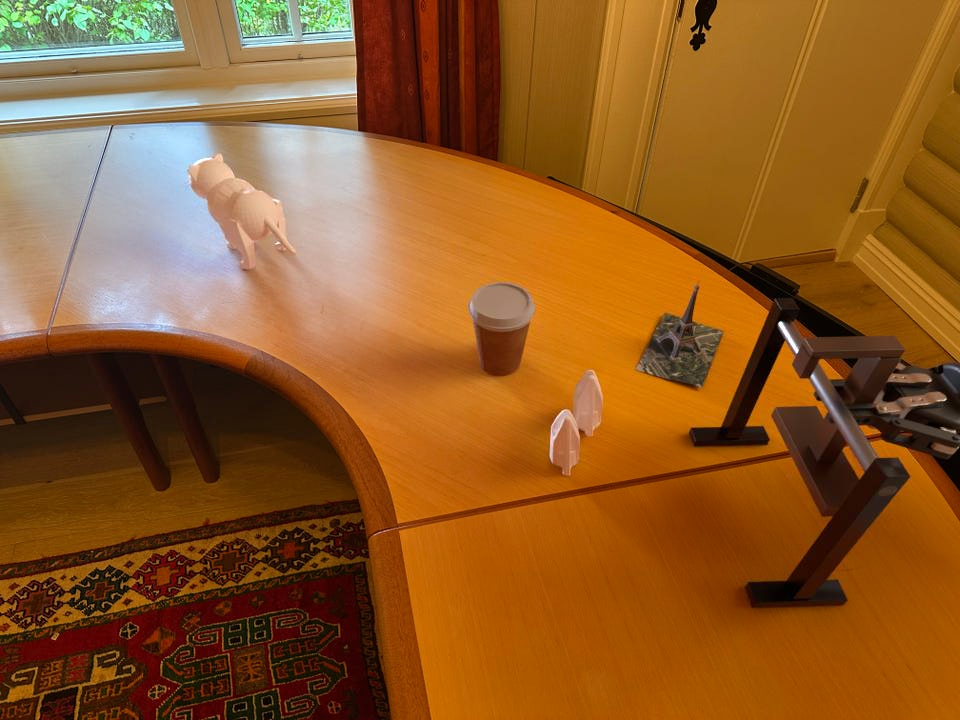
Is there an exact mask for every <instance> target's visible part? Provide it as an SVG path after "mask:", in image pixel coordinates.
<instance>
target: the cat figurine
mask: <svg viewBox="0 0 960 720" xmlns="http://www.w3.org/2000/svg"><path fill="white" fill-rule="evenodd" d="M186 172H187V173H188V175H189V176H188V180H189V181H187V182H185V184H188V183H189V185H190V187H191V189H192V191H193V192H194V194H195V195H196V196H198V198H200V199H202V200H205V201H206V207H207V210H208V213H209V215H210V217H211V218H212V219H213V220H214V221H215V223H217V224H218V226H219V228H220V229H221V231H222V233H223V235H224V239H225V240H226V241H227V242H225V244H226V247H227V249H230V250H237V251H238V252H240V254H241V256H242V260H241V261H239V262H238V263H239V266H240V268H241V269H242V270H243V269H244V270H247V271H250V270H251V269H253V268H255V267H256V264H257V263H256V253H255V243H256V242H257V241H261V240H264V239H266V238H268V237H269V236H271V235H272V234H273V235H274V236H275V238H276V241H277V243H275V244H274V246H275V249H276V250H277V251H281V252H285V251H286V250H287V251H288V252H289V253H290V254H291V255H293V256H297V255H298V251H296V250H295V248H293V246H292V244H290V242H289V241H288V239H287V226H286V219H285V214H284V209H283V204H282V201H281V200H279V199H277V198H276V199H275V198H273V197H271V196H270V195H269V194H268V193H266V192H265V191H263V190H260V189H255V187H254V186H253V185H252V184H250V183H249V182H248V181H246V180H244V179H241V178H237V177H235V175H234V173H233V171H232V169H231V168H230V166H228V164H227V163H225V162H224V158H223V154H221V153H220V152H217V153H215V154H214V155H213V156H212V157H206V158H203V159H199V160H198V161H196V162H195V163H194V164H192V165H189V166H188V169H187V170H186ZM182 186H183V184H181V186H180V187H182ZM187 189H188V186H186V188H185V190H187Z"/></svg>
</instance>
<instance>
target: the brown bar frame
mask: <svg viewBox="0 0 960 720" xmlns="http://www.w3.org/2000/svg"><path fill="white" fill-rule="evenodd" d="M803 339H804V340H803V342H802V344H801V346H800V348H799V350H798V352H797V354H796V356H794V358H793V361H792V363H791V366H792V367H793V370H794V372H795V373H796V375H797V376H798V378H799V379H805V380H806V379H807V380H808V378H810V377H811V375H812V373H813V372H814V370H815V368H816V366H817V364H818V362H819V363H820V360H841V359H845V360H846V359H849V360H850V359H857V361H856V362H855V363H854V365H855V366H854V365H853V366H854V368H853V367H852V368H853V369H852V368H851V370H852V371H851V370H850V371H851V373H850V372H849V373H850V374H849V373H848V375H849V376H848V375H847V377H848V378H847V377H846V378H847V380H846V381H845V383H844V385H843V387H842V388H841V390H840V392H839V393H838V394H839V395H840V397H841V398H842V400H843V402H844V403H871V404H872V405H874V404H873V402H874V401H875V399H876V398H877V396H878V395H879V393H880V392H881V390H882V389H883V387H884V385H885V384H886V382H887V381H888V379H889V378H890V376H891V375H892V373H893V372H894V370H895V369H896V367H897V365H898V364H899V362H900V363H901V361H902V358H901V357H902V356H903V355H904V353H905V351H906V348H905V347H904V346H903V345H902V343H901V342H900V341H899V340H898V338H897V337H896V336H895V335H866V336H865V335H862V336H861V335H860V336H821V337H820V336H819V337H818V336H817V337H815V336H814V337H803ZM827 414H828V411H827V413H826V414H825V416H823V414H822V412H821V411H820V409H819V408H818V406H817V405H799V406H797V405H796V406H775V407H774V409H773V411H772V412H771V415H770V416H771V419H772V420H773V423H774V424H775V427H776V429H777V431H778V433H779V434H780V436H781V438H782V441H783V442H784V445H785V447H786V449H787V450H788V453H789V455H790V456H791V459H792V461H793V463H794V465H795V467H796V468H797V471H798V473H799V475H800V477H801V478H802V481H803V482H804V485H805V487H806V488H807V491H808V492H809V495H810V497H811V499H812V500H813V503H814V504H815V507H816V509H817V511H818V513H819V515H820V517H821V518H824V517H825V518H827V517H828V518H829V517H831V518H832V517H833V515H834V514H835V513H836V511H837V510H838V509H839V507H840V506H841V504H842V503H843V502H844V500H845V499H846V498H847V496H848V495H849V493H850V492H851V491H852V489H853V488H854V487H855V485H856V484H857V482H858V481H859V480H860V478H859V476H858V475H857V473H856V471H855V469H854V467H853V466H852V464H851V462H850V461H849V459H848V458H847V456H846V453H845V452H844V448H845V447H846V445H848V444H847V442H846V441H845V439H844V437H843V436H842V434H841V432H840V431H839V429H838V427H837V426H836V424H835V423H830V422H829V420H828V418H827Z"/></svg>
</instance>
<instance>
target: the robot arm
mask: <svg viewBox="0 0 960 720" xmlns="http://www.w3.org/2000/svg"><path fill="white" fill-rule="evenodd" d="M854 366H855V364H854V365H853V366H852V368H851V370H850V371H849V373H848V375H847V376H846V377H845V378H829V380H830V381H831V383H832V384H833V386H834V387H835V389H836V391H837V392H838V393H839V392H840V390H841V388H842V387H843V385H844V383H845V381H846V380H847V378H848V376H849V374H850V373H851V371H852V369H853V368H854ZM813 396H814V399H816V401H817V402H822V401H821V399H820V397H819V396H818V394H817V392H816V391H815V390H814V392H813ZM845 405H846V406H847V408H848V409H849V411H850V413H851V414H852V416H853V417H854V419H855V420H856V422H857V424H858V425H859V427H861V426H862V427H863V426H866V427H868V428H870V429H873V430H877V431H878V432H879V433H880V435H879V437H880V439H881V440H882V441H883V442H886V443H888V444H892V445H895V446H898V447H902V448H906V449H909V450H912V451H916V452H919V453H921V454H924V455H928V456H933V457H936V458H940V459H942V460H949V459H950V458H951V457H952V456H953V455H954V454H955V453H956V451H958V449H959V448H960V361H958V362H957V361H955V362H953V361H952V362H945V363H942V364H939V365H936V366H933V367H930V368H924V367H920V366H917V365H908V366H907V365H904V364H903V363H901V361H900V362H899V364H898V365H897V367H896V369H895V370H894V372H893V373H892V375H891V376H890V378H889V379H888V381H887V382H886V384H885V385H884V387H883V389H882V390H881V392H880V393H879V395H878V396H877V398H876V399H875V401H874V402H873V404H871V403H845ZM827 412H828V411H827ZM826 414H827V413H826ZM827 418H828V420H829V422H830V423H835V422H834V421H833V419H832V417H831V416H830V414H829V412H828V414H827ZM901 432H905V433H908V434H911V435H905V434H902V433H901Z"/></svg>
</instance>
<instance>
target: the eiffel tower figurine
mask: <svg viewBox="0 0 960 720" xmlns="http://www.w3.org/2000/svg"><path fill="white" fill-rule="evenodd" d="M699 282H700V280H698V282H697V284H696V285H694V286H693V291H692V294H691V296H690V299H689V301H688V304H687V307H686V309H685V310H684V313H683V314H682V315H683V316H682V317H680V316H677V315H674V314H672V313H668V312H664V313H663V315H662V317H661V319H660V320H659V322H658V325H657V326H656V328H655V331H654V333H653V334H652V336H651V338H650V340H649V342H648V344H647V346H646V348H645V350H644V352H643V354H642V356H641V358H640V359H639V362H638V364H637V365H636V367H635V369H634V370H635V371H639V372H642V373H645V374H649V375H651V376H656V377H659V378H662V379H667V380H671V381H676V382H681V383H685V384H688V385H693V386H696V387H700V388H703V387H704V384H705V381H706V380H707V376H708V374H709V372H710V369H711V366H712V363H713V360H714V358H715V355H716V353H717V350H718V347H719V346H720V342H721V340H722V338H723V335H724V333H725V331H724V330H721V329H719V328H716V327H712V326H708V325H706V324H703V323H699V322H696V321H694V320H693V319H694V318H693V317H694V311H695V307H696V300H697V297H698V291H700V286H699Z"/></svg>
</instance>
